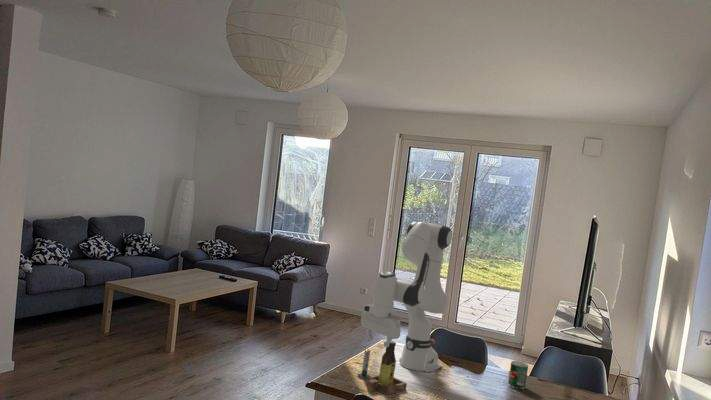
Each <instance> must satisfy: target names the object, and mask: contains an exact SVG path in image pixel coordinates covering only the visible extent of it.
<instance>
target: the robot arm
mask: <svg viewBox="0 0 711 400" xmlns="http://www.w3.org/2000/svg"><path fill="white" fill-rule="evenodd" d="M452 240H453V231H452V229H451V228H450V227H449V226H446V225H442V224H438V223H435V222H434V223H433V222H424V221H423V222H422V221H420V220H419V221H412V222H411V223H409V224H408V226H407V228H406V236H405V238H404V240H403V243H402V245H401V251H402V254H403V256H404V257H405V258H406V259H407V261H409V262H410V263H411V264H414V265H415V266H417V267H416V273H415V276H414V279H413V280H406V279H401V278H398V277H397V275H396V273H395V272H393V271H387V270H386V271H385V270H384V271H380V272H379V273H378V274H377V277H376V280H375V284H374V291H373V294H374V298H373V300H372V303H371V304H365V305H362V310H363V311H362V313H361V316H360V317H361V318H360V326H361V327H363V328H365V329H366V333H367V340H369V341H373V340H374V335H373V333H372V332H375V333H378V334H380V335H382V336H385V337H386V341H384V342H383V347H385V348H386V347H389V343H390V342H391V341H393V340H397V339H399V338H400V337H401V319H400V317H399V316H398V315H395V314H393V313H394V307H395V304H394V303H395V302H397V303H400V304H401V303H402V304H403V306H404V307H405V309H406V311H407V316H408V329H407V335H406V336H405V344H404V345H403V350H402V353H401V357H399V364H400V365H401V367H404V368H406V369H409V370H413V371H418V372H424V371H425V373H431V372H434V371H435V370H438V369H441V368H442V367H443V364H442V363H441V362H439V354H438V353H437V351H436V350H435V349H434V348H433V347H432V344H433V345H434V344H435V343H436V340H435V339H433V338H431V334H432V327H433V326H432V325H433V324H432V322H431V321H430V319H429V318H428V317H427V315H426V313H425V312H428V313H430V314H438V315H439V314H444V313H446V311H447V310H448V308H449V304H450V301H449V297H448V296H447V294H446V293H445V291H444V289H443V287H442V284H441V283H442V282H441V273H442V272H441V271H442V264H443V259H444V249H446V248H448V247H449V246H450V245H451V243H452ZM440 367H441V368H440ZM433 370H434V371H433ZM430 371H431V372H430Z"/></svg>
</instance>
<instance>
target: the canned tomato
mask: <svg viewBox="0 0 711 400" xmlns="http://www.w3.org/2000/svg"><path fill="white" fill-rule="evenodd" d="M509 369H510V370H509V375H508V381H507V384H508V383H509V384H510V385H511V386H514V387H518V388H523V387H525V388H526V383H527V376H528V370H529V364H527V363H526V362H524V361H523V362H522V361H518V360H513V361H512V360H511V362H510V368H509Z"/></svg>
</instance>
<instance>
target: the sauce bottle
mask: <svg viewBox="0 0 711 400" xmlns="http://www.w3.org/2000/svg"><path fill="white" fill-rule="evenodd" d="M396 345H397V343H396V341H393V340H391V342H390V343H389V347H385V352H384V353H383V354H382V355H381V362H380V366H379V367H380V369H379V373H378V375H379V383H381V384H383V385H385V386H391V385H393V378H395V372H396V371H395V370H396V363H397V359H396V355H395V354H396V353H395V351H396V350H395V349H396V348H395V347H396Z"/></svg>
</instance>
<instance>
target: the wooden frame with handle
mask: <svg viewBox="0 0 711 400" xmlns="http://www.w3.org/2000/svg"><path fill="white" fill-rule="evenodd" d="M370 376H371V377H366V379H365V385H367V386H366V390H367V391H368V390H369V391H368V392H371V393H373V392H380V393H382V394H384V395H386V396H388V395H391V394H395V393H399V392H405V391H407V385H408V383H407V382H405V381H403V380H400V379H399V378H396V377H394V378H393V385H391V386H385V385H383V384H381V383H379V374H378V375H377V374H376V375H370Z"/></svg>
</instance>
